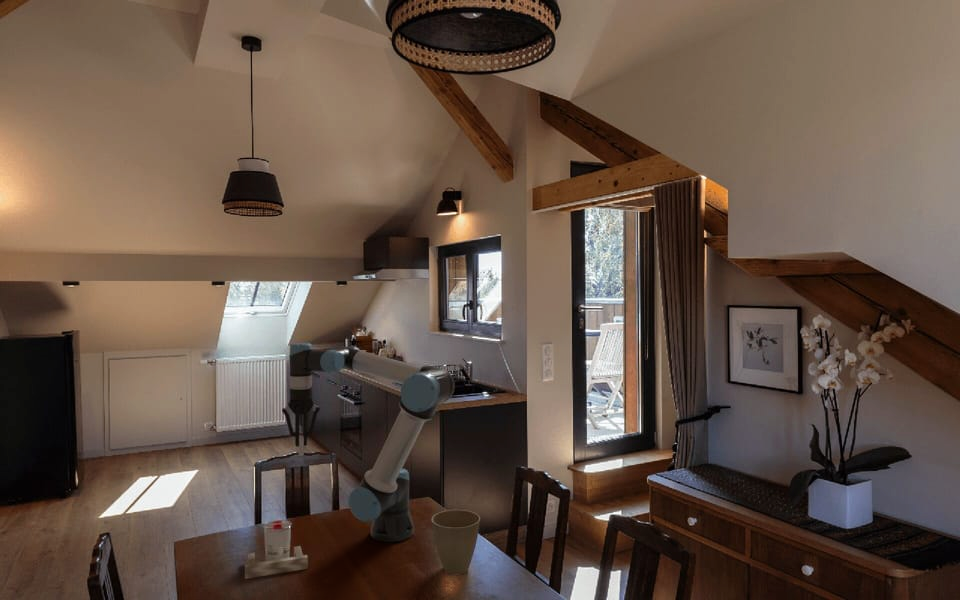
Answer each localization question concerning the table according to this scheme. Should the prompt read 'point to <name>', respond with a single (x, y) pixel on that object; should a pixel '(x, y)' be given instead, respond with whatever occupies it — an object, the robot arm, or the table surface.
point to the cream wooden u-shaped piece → (276, 564)
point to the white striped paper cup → (277, 539)
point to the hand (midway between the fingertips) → (301, 455)
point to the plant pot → (455, 538)
